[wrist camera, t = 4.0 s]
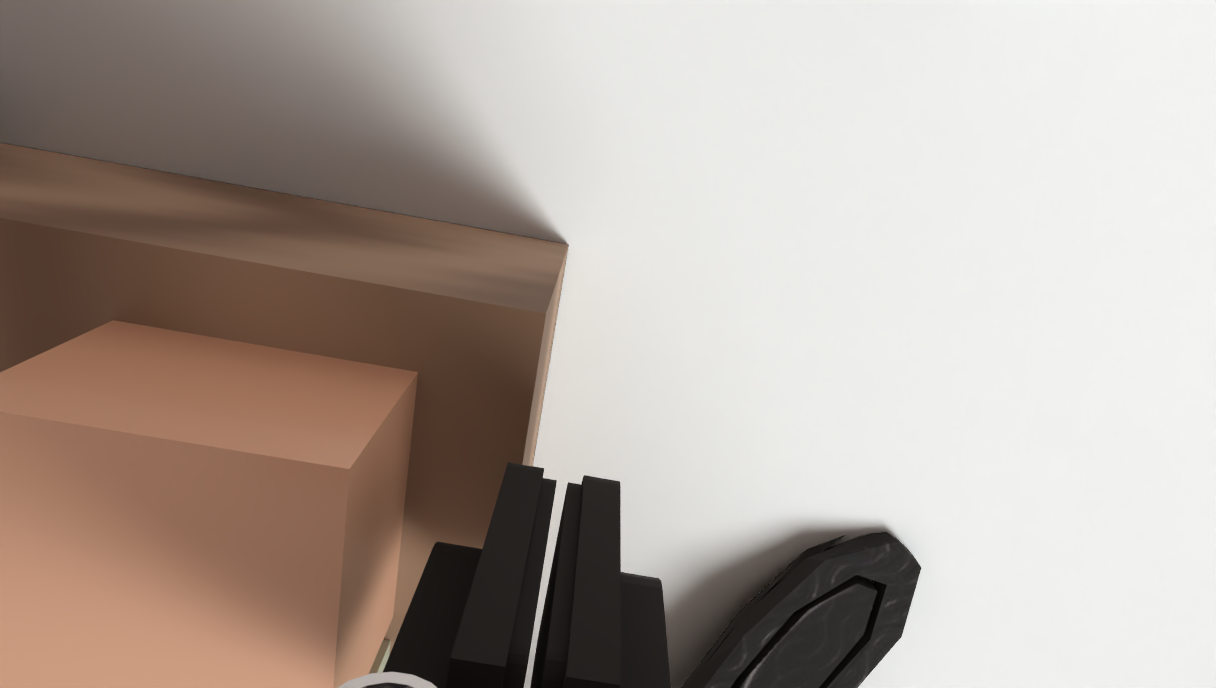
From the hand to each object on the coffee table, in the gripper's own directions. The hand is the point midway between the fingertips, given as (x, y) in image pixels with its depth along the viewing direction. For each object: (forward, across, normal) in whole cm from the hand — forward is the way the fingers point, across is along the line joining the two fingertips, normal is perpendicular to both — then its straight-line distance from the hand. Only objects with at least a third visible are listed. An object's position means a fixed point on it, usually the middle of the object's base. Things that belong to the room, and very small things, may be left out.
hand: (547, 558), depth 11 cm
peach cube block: (+1, +5, 0) cm, 5 cm away
